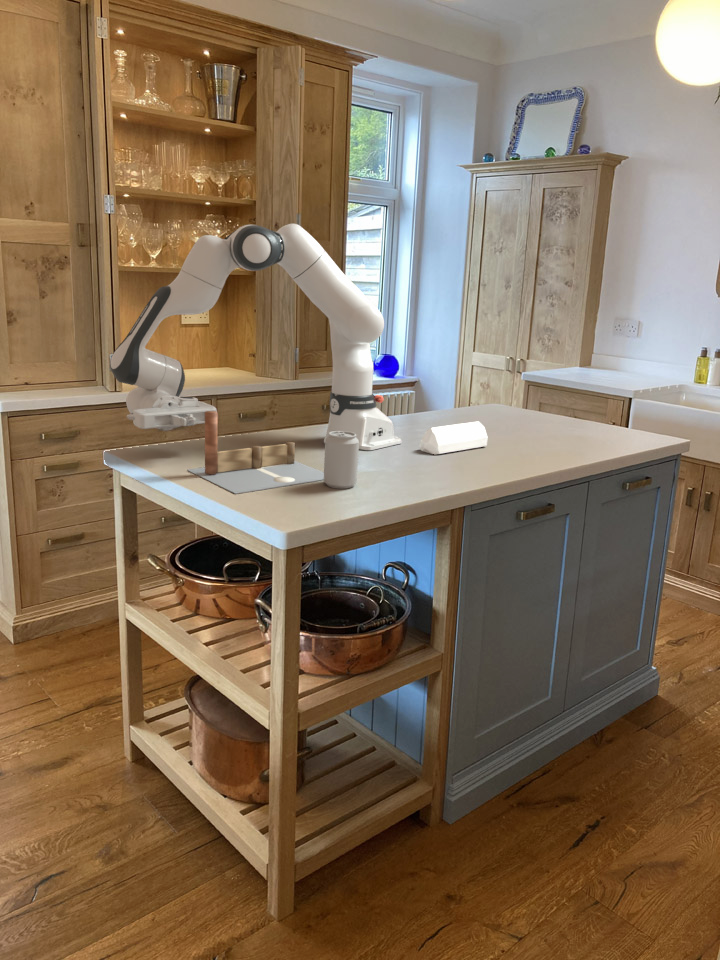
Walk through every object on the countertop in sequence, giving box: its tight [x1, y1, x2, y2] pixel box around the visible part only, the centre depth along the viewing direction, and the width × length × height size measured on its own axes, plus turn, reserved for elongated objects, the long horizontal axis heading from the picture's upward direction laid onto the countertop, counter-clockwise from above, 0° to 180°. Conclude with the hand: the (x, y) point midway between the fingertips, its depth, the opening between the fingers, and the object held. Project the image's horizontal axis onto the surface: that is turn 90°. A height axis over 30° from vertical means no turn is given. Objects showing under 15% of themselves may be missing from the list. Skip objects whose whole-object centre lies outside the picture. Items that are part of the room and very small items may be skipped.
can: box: [323, 431, 360, 490], centre depth 172 cm, size 8×8×12 cm
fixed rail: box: [251, 441, 296, 469], centre depth 186 cm, size 12×2×5 cm, turn 129°
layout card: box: [186, 460, 324, 495], centre depth 179 cm, size 27×22×1 cm
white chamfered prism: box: [418, 420, 489, 456], centre depth 215 cm, size 7×7×24 cm
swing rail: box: [204, 411, 252, 474], centre depth 177 cm, size 12×3×14 cm, turn 129°
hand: (190, 422), depth 182 cm, fingers closed
